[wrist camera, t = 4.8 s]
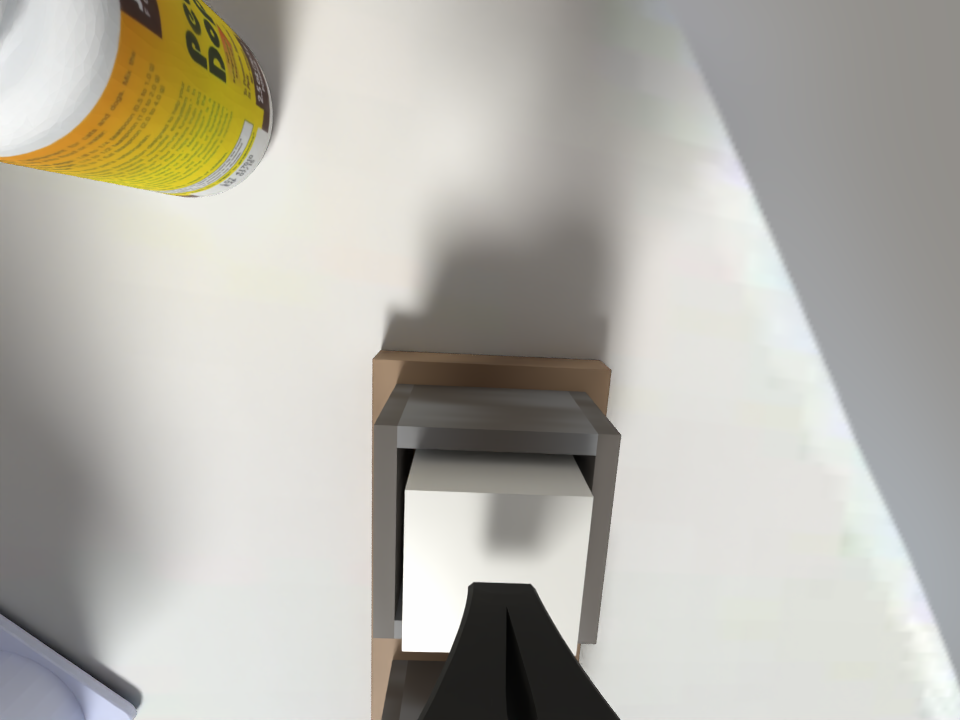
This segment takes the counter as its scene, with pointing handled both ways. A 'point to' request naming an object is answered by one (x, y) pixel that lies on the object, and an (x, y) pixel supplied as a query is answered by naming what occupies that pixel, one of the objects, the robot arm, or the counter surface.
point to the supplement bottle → (131, 94)
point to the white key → (491, 537)
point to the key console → (475, 427)
